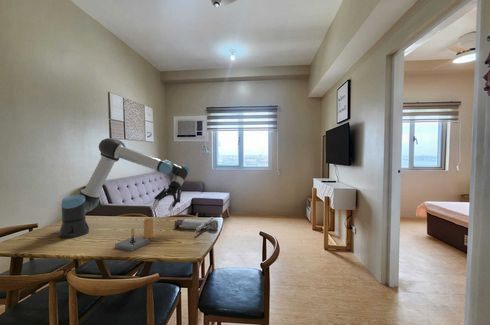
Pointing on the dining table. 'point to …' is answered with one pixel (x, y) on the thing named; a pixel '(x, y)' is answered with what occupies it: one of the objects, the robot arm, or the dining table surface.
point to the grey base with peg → (132, 242)
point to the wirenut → (148, 228)
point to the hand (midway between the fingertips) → (160, 210)
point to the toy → (197, 224)
